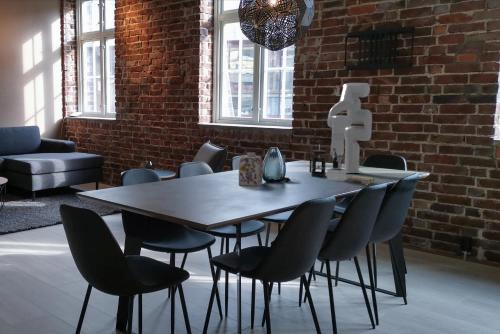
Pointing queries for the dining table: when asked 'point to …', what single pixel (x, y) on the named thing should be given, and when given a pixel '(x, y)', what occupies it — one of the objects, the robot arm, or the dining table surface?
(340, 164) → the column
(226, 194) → the dining table surface
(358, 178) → the tan flat square block
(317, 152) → the black lantern
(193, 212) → the dining table surface
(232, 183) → the dining table surface
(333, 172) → the stand base
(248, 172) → the decorative jar
